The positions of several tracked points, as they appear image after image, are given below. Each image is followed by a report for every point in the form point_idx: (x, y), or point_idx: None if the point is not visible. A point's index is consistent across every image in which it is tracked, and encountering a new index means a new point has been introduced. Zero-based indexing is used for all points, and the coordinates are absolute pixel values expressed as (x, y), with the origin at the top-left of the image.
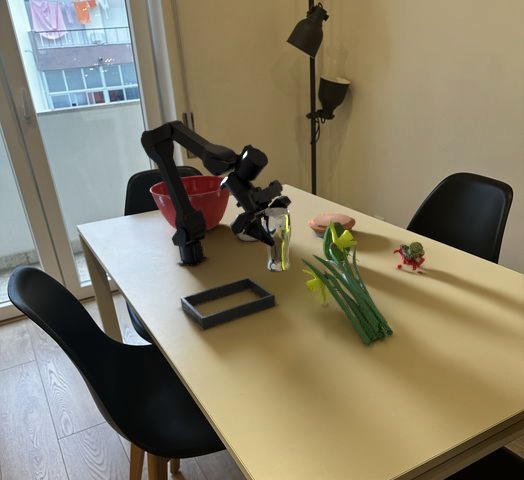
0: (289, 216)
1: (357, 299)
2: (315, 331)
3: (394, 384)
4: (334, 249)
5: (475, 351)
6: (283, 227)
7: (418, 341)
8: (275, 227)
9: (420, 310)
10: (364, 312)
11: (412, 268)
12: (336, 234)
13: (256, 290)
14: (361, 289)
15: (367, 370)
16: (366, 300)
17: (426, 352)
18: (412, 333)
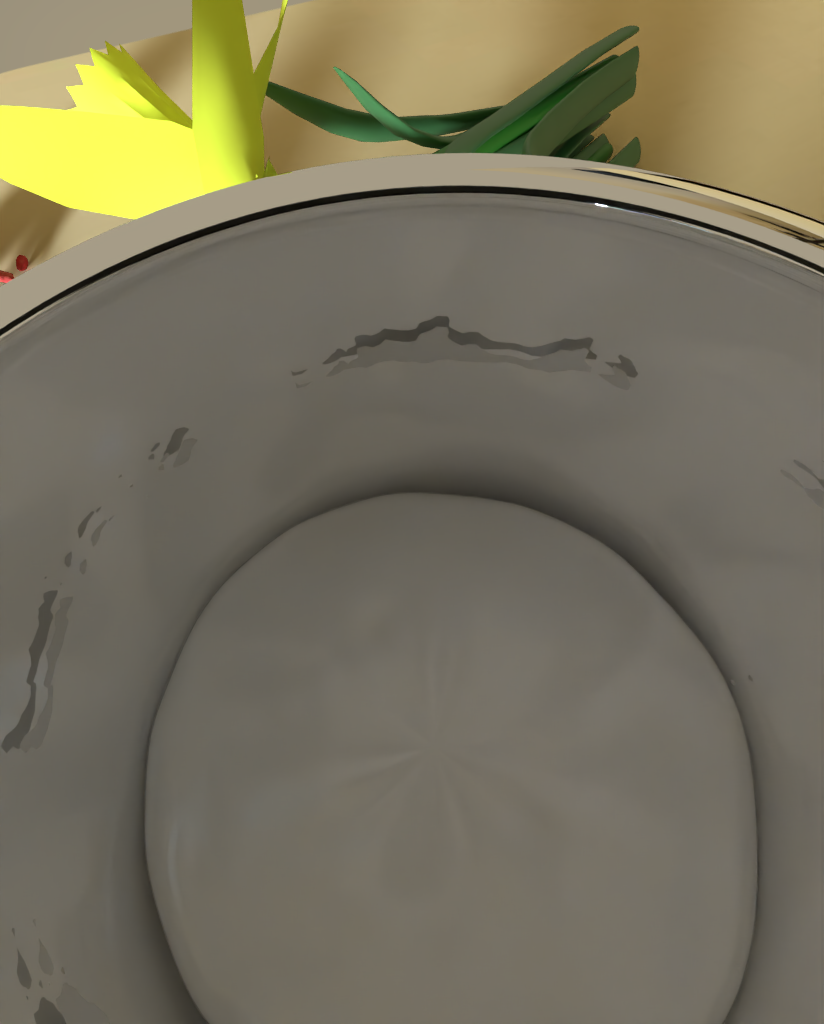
0: (277, 298)
1: (597, 93)
2: None
3: (736, 57)
4: None
5: (468, 17)
6: (556, 433)
7: (512, 96)
8: (735, 531)
9: (331, 157)
10: (598, 110)
11: (4, 279)
12: (246, 49)
13: None
14: (542, 80)
15: (742, 111)
16: (595, 55)
17: (550, 68)
18: None
